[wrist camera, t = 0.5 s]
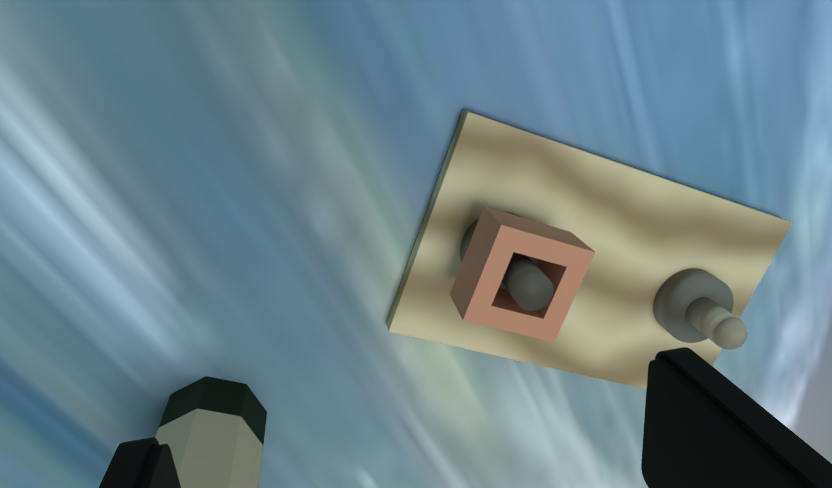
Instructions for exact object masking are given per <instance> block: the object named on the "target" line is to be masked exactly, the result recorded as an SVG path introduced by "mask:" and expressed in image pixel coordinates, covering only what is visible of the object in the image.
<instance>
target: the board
mask: <svg viewBox="0 0 832 488" xmlns="http://www.w3.org/2000/svg"><path fill="white" fill-rule="evenodd" d="M484 206H485V207H489V208H492V209H495V210H499V211H502V212H506V213H509V214H512V215H516V216H519V217H522V218H526V219H529V220H533V221H536V222H539V223H543V224H546V225H549V226H553V227H556V228H559V229H563V230H566V231H570V232H572V233H573V234H574V235H575V236H576V237H578V238H579V239H580V240H581V241H583V242H584V243H585V244H586V245H587V246H589V247H590V248H591V249H592V250H594V251H595V255H594V257H593V259H592V261H591V263H590V265H589V268H588V270H587V272H586V274H585V276H584V278H583V281H582V283H581V285H580V287H579V289H578V291H577V294H576V296H575V298H574V300H573V302H572V304H571V307H570V309H569V311H568V313H567V315H566V317H565V320H564V322H563V324H562V326H561V328H560V330H559V333H558V335H557V337H556V339H555V341H554V342H551V341H547V340H543V339H539V338H534V337H530V336H526V335H522V334H518V333H513V332H509V331H505V330H501V329H496V328H492V327H488V326H484V325H479V324H475V323H471V322H467V321H463V320H462V318H461V316H460V314H459V312H458V310H457V308H456V306H455V304H454V302H453V300H452V298H451V296H450V292H451V290H452V287H453V284H454V282H455V279H456V277H457V274H458V272H459V269H460V266H461V264H462V261H463V259H464V256H465V254H466V251H467V248H468V246H469V243H470V241H471V238H472V236H473V233H474V230H475V228H476V225H477V223H478V220H479V218H480V215H481V213H482V210H483V207H484ZM791 225H792V222H789V221H787V220H785V219H782V218H780V217H777V216H774V215H771V214H769V213H766V212H763V211H760V210H757V209H754V208H751V207H748V206H745V205H742V204H739V203H736V202H733V201H731V200H728V199H725V198H722V197H719V196H716V195H713V194H710V193H707V192H704V191H701V190H698V189H696V188H693V187H690V186H687V185H684V184H681V183H678V182H675V181H672V180H669V179H666V178H663V177H660V176H658V175H655V174H652V173H649V172H646V171H643V170H640V169H637V168H634V167H631V166H628V165H625V164H622V163H620V162H617V161H614V160H611V159H608V158H605V157H602V156H599V155H596V154H593V153H590V152H587V151H585V150H582V149H579V148H576V147H573V146H570V145H567V144H564V143H561V142H558V141H555V140H552V139H549V138H547V137H544V136H541V135H538V134H535V133H532V132H529V131H526V130H523V129H520V128H517V127H514V126H512V125H509V124H506V123H503V122H500V121H497V120H494V119H491V118H488V117H485V116H482V115H479V114H476V113H474V112H471V111H468V110H465V109H463V111H462V113H461V116H460V119H459V122H458V125H457V127H456V130H455V133H454V136H453V139H452V141H451V144H450V147H449V150H448V152H447V155H446V158H445V161H444V164H443V166H442V169H441V172H440V175H439V177H438V180H437V183H436V186H435V189H434V191H433V194H432V197H431V200H430V202H429V205H428V208H427V211H426V214H425V216H424V219H423V222H422V225H421V228H420V230H419V233H418V236H417V239H416V241H415V244H414V247H413V250H412V253H411V255H410V258H409V261H408V264H407V266H406V269H405V272H404V275H403V278H402V280H401V283H400V286H399V289H398V292H397V294H396V297H395V300H394V303H393V305H392V308H391V311H390V314H389V317H388V319H387V322H386V323H387V327H388V331H389V332H393V333H397V334H402V335H406V336H411V337H415V338H420V339H424V340H429V341H433V342H437V343H442V344H446V345H451V346H455V347H460V348H464V349H469V350H473V351H478V352H482V353H487V354H491V355H496V356H500V357H505V358H509V359H514V360H518V361H523V362H527V363H532V364H536V365H541V366H545V367H550V368H554V369H559V370H563V371H568V372H572V373H577V374H581V375H586V376H590V377H595V378H599V379H604V380H608V381H613V382H617V383H622V384H626V385H631V386H635V387H640V388H644V389H647V377H648V366H649V363H650V361H652V360H655V356H656V354H657V353H658V352H660V351H665V350H671V349H677V348H682V347H688V348H690V349H691V350H693V351H694V352H695V353H696V354H698V355H699V356H700V357H701V358H703V359H704V360H705V361H706V362H707V363H709V364H710V365H711V366H713V364H714V362H715V360H716V359H717V357H718V355H719V353H720V351H721V350H722V348H724V349H735V348H738V347H740V346H741V345H742V344H743V343H744V342H745V341H746V339H747V328H746V326H745V324H744V323H743V322H742V321H741V320H740V319H739V318H740V316H741V314H742V312H743V310H744V309H745V307H746V305H747V303H748V302H749V300H750V298H751V296H752V294H753V293H754V291H755V289H756V287H757V285H758V284H759V282H760V280H761V278H762V277H763V275H764V273H765V271H766V269H767V268H768V266H769V264H770V262H771V261H772V259H773V257H774V255H775V253H776V252H777V250H778V248H779V246H780V244H781V243H782V241H783V239H784V237H785V236H786V234H787V232H788V230H789V228H790V227H791ZM538 260H539V259H537V258H533V257H530V256H526V255H523V254H519V253H515V252H513V255H512V257H511V259H510V262H509V264H508V267H507V269H506V272H505V274H504V276H503V279H502V281H501V284H500V286H499V287H500V288H504V289H507V290H508V292H509V293H510V294H511V296H512V297H513V298H514V300H515V301H516V303H517V304H518V305H519V306H520V307H521V308H522V309H524V310H528V311H535V310H539V309H541V308H543V307H544V306H546V305H547V304H548V303H549V301H550V300H551V298H552V296H553V284H552V282H551V281H550V280H549V278H548V277H547V276H546V275H545V274H544V273H543V272H542V271H541V270H540V269H539V268H538V266H537V265H536V264H537V262H538Z"/></svg>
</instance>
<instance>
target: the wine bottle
mask: <svg viewBox="0 0 832 488" xmlns="http://www.w3.org/2000/svg"><path fill="white" fill-rule="evenodd" d="M266 415H267V412H266V410H265V409H264V408H263V406H262V405H261V403H260V402H259V401H258V399H257V398H256V397H255V395H254V394H253V392H252V391H251V390H250V388H249V387H248V386H247V384H242V383H237V382H232V381H227V380H222V379H217V378H212V377H207V376H206V377H204V378H202V379H201V380H199V381H197V382H195V383H193V384H191V385H189V386H187V387H185V388H183V389H181V390H179V391H177V392H175V393H173V394H171V396H170V398H169V401H168V404H167V406H166V409H165V412H164V415H163V417H162V420H161V423H160V425H159V428H158V431H157V434H156V436H155V438H156V439H157V440H158V442H159V445H161V444H168V445H169V447H170V449H171V453H172V456H173V460H174V464H175V467H176V471H177V475H178V478H179V482H180V485H181V488H259V480H260V470H261V461H262V452H263V443H264V434H265V425H266Z"/></svg>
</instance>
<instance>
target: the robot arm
mask: <svg viewBox="0 0 832 488" xmlns="http://www.w3.org/2000/svg"><path fill="white" fill-rule="evenodd" d="M642 474H643V477H644V480H645V482H646V484H647V485H648V487H649V488H832V464H831V463H830V462H829V461H827V460H826V459H825V458H824V457H823V456H821V455H820V454H819V453H818V452H816V451H815V450H814V449H813V448H811V447H810V446H809V445H808V444H807V443H805V442H804V441H803V440H802V439H800V438H799V437H798V436H797V435H796V434H794V433H793V432H792V431H791V430H789V429H788V428H787V427H786V426H785V425H783V424H782V423H781V422H780V421H778V420H777V419H776V418H775V417H774V416H772V415H771V414H770V413H769V412H767V411H766V410H765V409H764V408H763V407H761V406H760V405H759V404H758V403H756V402H755V401H754V400H753V399H752V398H750V397H749V396H748V395H747V394H745V393H744V392H743V391H742V390H741V389H739V388H738V387H737V386H736V385H734V384H733V383H732V382H731V381H729V380H728V379H727V378H726V377H725V376H723V375H722V374H721V373H720V372H718V371H717V370H716V369H715V368H714V367H712V366H711V365H710V364H709V363H707V362H706V361H705V360H704V359H703V358H701V357H700V356H699V355H698V354H696V353H695V352H694V351H693V350H691V349H690V348H688V347H682V348H677V349H671V350H665V351H660V352H658V353H657V354H656V356H655V360H652V361H650V363H649V366H648V377H647V392H646V407H645V421H644V436H643V451H642ZM99 488H181V485H180V482H179V478H178V475H177V471H176V467H175V464H174V460H173V456H172V453H171V449H170V447H169V445H168V444H161V445H159V442H158V440H157V439H156V438H154V437H153V438H147V439H141V440H135V441H129V442H123V443H121V444H120V445H119V446H118V448H117V450H116V452H115V454H114V456H113V458H112V460H111V463H110V465H109V467H108V469H107V471H106V473H105V475H104V478H103V480H102V482H101V484H100V486H99Z"/></svg>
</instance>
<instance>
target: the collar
mask: <svg viewBox="0 0 832 488" xmlns="http://www.w3.org/2000/svg"><path fill="white" fill-rule="evenodd" d="M513 252H515V253H519V254H523V255H526V256H530V257H533V258H537V259H539V260H538V262H537V264H536V265H537V266H538V268H539V269H540V270H541V271H542V272H543V273H544V274H545V275H546V276H547V277H548V278H549V280H550V281H551V282H552V284H553V296H552V298H551V300H550V301H549V303H548V304H547V305H546V306H544V307H543V308H541V309H539V310H535V311H528V310H524V309H522V308H521V307H520V306H519V305H518V304H517V303H516V301H515V300H514V298H513V297H512V296H511V294H510V293H509V292H508V290H507V289H504V288H500V287H499V286H500V284H501V281H502V279H503V276H504V274H505V272H506V269H507V267H508V264H509V262H510V259H511V257H512V255H513ZM594 255H595V251H594V250H592V249H591V248H590V247H589V246H587V245H586V244H585V243H584V242H583V241H581V240H580V239H579V238H578V237H576V236H575V235H574V234H573V233H572V232H570V231H566V230H563V229H559V228H556V227H553V226H549V225H546V224H543V223H539V222H536V221H533V220H529V219H526V218H522V217H519V216H516V215H512V214H509V213H506V212H502V211H499V210H495V209H492V208H489V207H485V206H484V207H483V210H482V213H481V215H480V218H479V220H478V223H477V225H476V228H475V230H474V233H473V236H472V238H471V241H470V243H469V246H468V248H467V251H466V254H465V256H464V259H463V261H462V264H461V266H460V269H459V272H458V274H457V277H456V279H455V282H454V284H453V287H452V290H451V292H450V296H451V298H452V300H453V302H454V304H455V306H456V308H457V310H458V312H459V314H460V316H461V318H462V320H463V321H467V322H471V323H475V324H479V325H484V326H488V327H492V328H496V329H501V330H505V331H509V332H513V333H518V334H522V335H526V336H530V337H534V338H539V339H543V340H547V341H551V342H554V341H555V339H556V337H557V335H558V333H559V330H560V328H561V326H562V324H563V322H564V320H565V317H566V315H567V313H568V311H569V309H570V307H571V304H572V302H573V300H574V298H575V296H576V294H577V291H578V289H579V287H580V285H581V283H582V281H583V278H584V276H585V274H586V272H587V270H588V268H589V265H590V263H591V261H592V259H593V257H594Z"/></svg>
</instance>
